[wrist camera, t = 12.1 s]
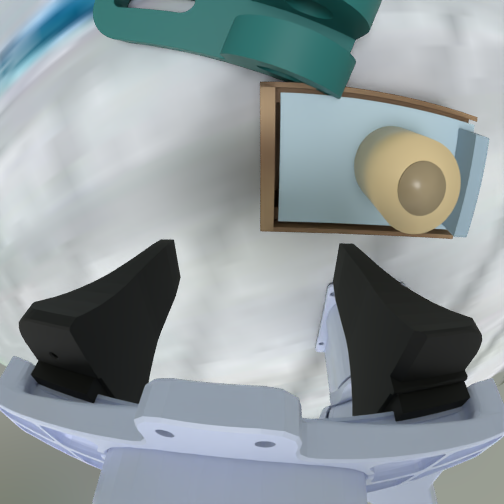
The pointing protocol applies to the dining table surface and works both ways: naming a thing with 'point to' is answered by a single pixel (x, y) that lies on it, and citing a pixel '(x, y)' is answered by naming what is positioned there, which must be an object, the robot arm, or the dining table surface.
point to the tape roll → (408, 178)
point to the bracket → (254, 34)
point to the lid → (344, 151)
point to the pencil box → (272, 158)
